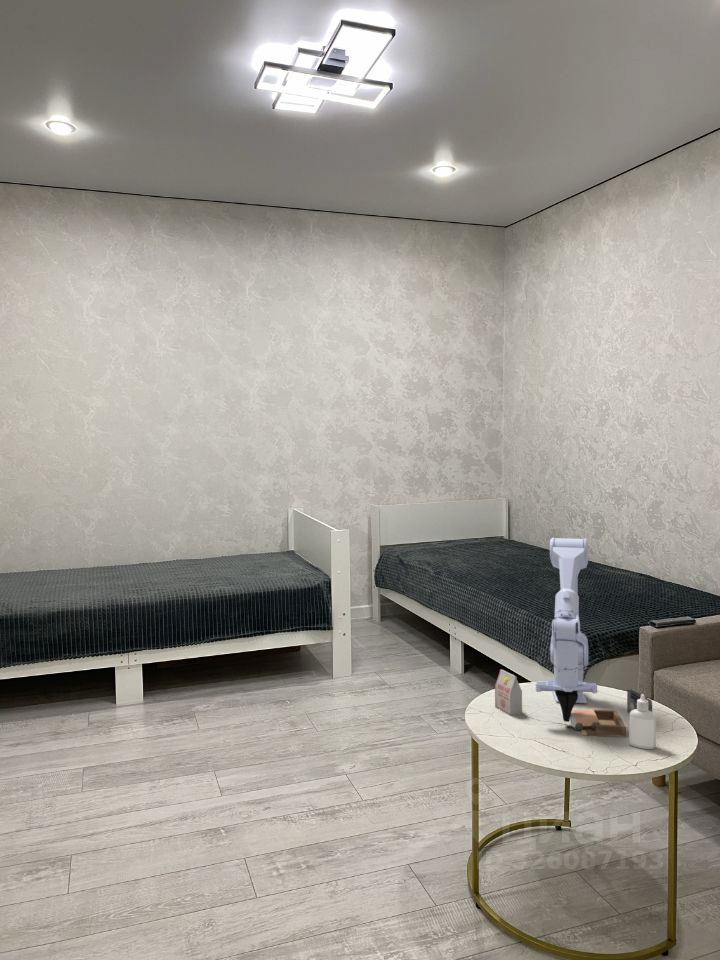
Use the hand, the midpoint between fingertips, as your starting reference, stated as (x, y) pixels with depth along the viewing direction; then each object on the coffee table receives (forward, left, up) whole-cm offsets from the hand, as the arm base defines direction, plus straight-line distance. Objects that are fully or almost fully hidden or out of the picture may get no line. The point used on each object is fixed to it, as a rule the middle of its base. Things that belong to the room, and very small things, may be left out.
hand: (566, 720), depth 184 cm
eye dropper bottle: (+10, +16, -2) cm, 19 cm away
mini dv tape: (-7, +19, -2) cm, 20 cm away
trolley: (0, +5, -1) cm, 5 cm away
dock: (0, +9, -1) cm, 9 cm away
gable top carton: (-10, -13, -2) cm, 17 cm away
